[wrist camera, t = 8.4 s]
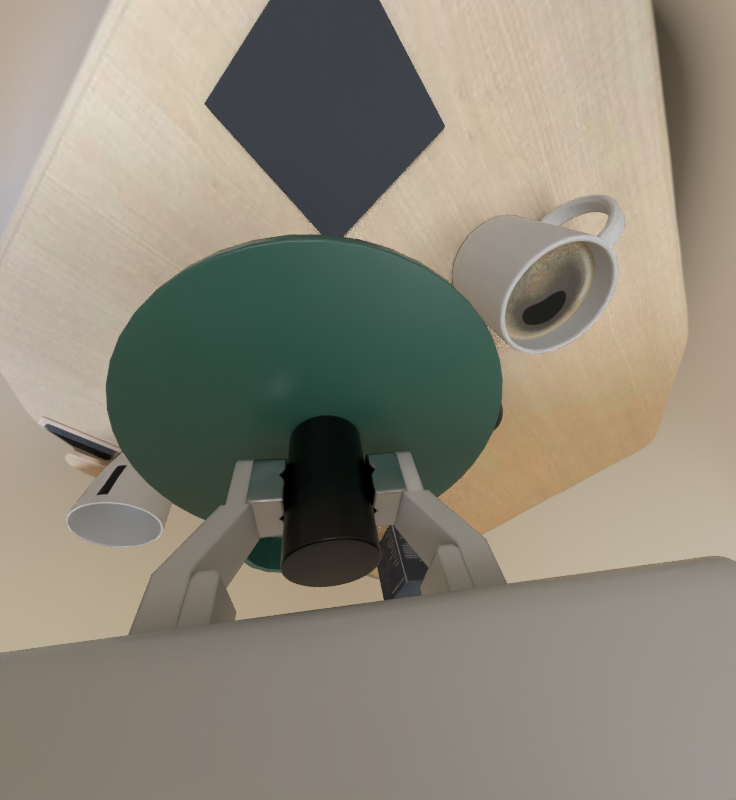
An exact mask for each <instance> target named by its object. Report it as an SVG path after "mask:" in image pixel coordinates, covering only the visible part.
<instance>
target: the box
mask: <svg viewBox="0 0 736 800" xmlns="http://www.w3.org/2000/svg"><path fill="white" fill-rule="evenodd" d="M380 548H381V554H382V555H381V560H380V563H379V564H378V566H377V567H378V573H379V578H380V583H381V588H382V592H383V598H384V600H391V599H399V598H406V597H413V596H421V595H422V593H421V589H420V586H421V584H422V582H423V580H424V577H425V575H426V573H427V570H428V568H429V567H428V566H427V565H426V564H425V563H424V561H423V560H422V559H421V558H420V557H419V555H418V554H417V553H416V552H415V551H414V549H413V548H412V547H411V546H410V545H409V543H408V542H407V541H406V540H405V539H404V537H403V536H402V535H401V534H400V532H399V531H398V530H397V529H396V528H395V525H391V526H389V528H388V530H387V532H386V533H385V535H384V537H383V538H382V540H381V542H380Z"/></svg>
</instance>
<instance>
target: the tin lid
mask: <svg viewBox="0 0 736 800" xmlns="http://www.w3.org/2000/svg"><path fill="white" fill-rule="evenodd" d="M106 397H107V411H108V415H109V419H110V423H111V427H112V431H113V433H114V435H115V437H116V439H117V442H118V444H119V446H120V448H121V450H122V452H123V453H124V455H125V456H126V458H127V459H128V461H129V462H130V464H131V465H132V467H133V468H134V469H135V470H136V471H137V472H138V474H139V475H140V476H141V477H142V478H143V479H144V480H145V481H146V482H147V483H148V484H149V485H150V486H151V487H152V488H154V489H155V490H156V491H157V492H158V493H159V494H161V495H162V496H163V497H165V498H166V499H168V500H169V501H171V502H172V503H174V504H175V505H177V506H178V507H180V508H182V509H183V510H185V511H187V512H189V513H191V514H193V515H195V516H197V517H199V518H201V519H204V520H206V519H207V518H208V517H209V516H210V515H211V514H212V513H213V512H214V511H215V510H216V509H217V508H218V507H219V506H220V505H225V504H226V500H227V496H228V492H229V488H230V484H231V480H232V476H233V472H234V468H235V464H236V463H237V461H238V460H255V459H284V458H286V459H287V463H288V471H287V483H286V499H285V513H284V522H283V535H280V536H271V537H278V538H282V549H281V563H280V569H281V572H282V574H283V576H284V577H285V578H286V579H288V580H289V581H291V582H293V583H296V584H299V585H303V586H310V587H328V586H336V585H341V584H345V583H349V582H352V581H355V580H357V579H360V578H362V577H364V576H366V575H367V574H369V573H370V572H372V571H373V570H374V569H375V568H376V567H377V566H378V564H379V563H380V560H381V555H382V554H381V548H380V543H379V537H378V532H377V527H378V526H376V521H375V516H374V510H373V505H372V499H371V494H370V489H369V483H368V478H367V472H366V466H365V456H366V454H372V453H387V452H394V453H395V452H406V451H409V452H410V453H411V455H412V458H413V461H414V463H415V466H416V469H417V472H418V475H419V477H420V480H421V483H422V486H423V489H424V490H429V491H430V492H431V493H433V494H434V495H435V496H436V497H438V496H440V495H441V494H442V493H444V492H445V491H446V490H448V489H449V488H450V487H451V486H452V485H453V484H455V483H456V482H457V481H458V480H459V479H460V478H461V477H462V476H463V475H464V474H465V473H466V472H467V470H468V469H469V468H470V467H471V466H472V465H473V464H474V462H475V461H476V460H477V458H478V457H479V455H480V454H481V452H482V451H483V449H484V448H485V446H486V444H487V442H488V440H489V438H490V436H491V434H492V432H493V429H494V427H495V424H496V421H497V418H498V415H499V410H500V405H501V400H502V374H501V365H500V359H499V356H498V353H497V350H496V346H495V343H494V340H493V338H492V336H491V334H490V332H489V330H488V328H487V326H486V325H485V323H484V321H483V319H482V318H481V317H480V315H479V314H478V313H477V311H476V310H475V309H474V307H473V306H472V305H471V303H470V302H469V301H468V300H467V299H466V298H465V297H464V296H463V295H462V294H461V293H459V292H458V291H457V290H456V289H455V288H454V287H453V286H452V285H451V284H450V283H449V282H448V281H446V280H445V279H444V278H443V277H441V276H440V275H438V274H437V273H435V272H434V271H432V270H431V269H429V268H428V267H426V266H425V265H423V264H422V263H420V262H419V261H417V260H414V259H412V258H410V257H408V256H406V255H404V254H401V253H399V252H397V251H395V250H393V249H390V248H387V247H384V246H380V245H377V244H373V243H370V242H367V241H363V240H360V239H353V238H346V237H339V236H331V235H284V236H278V237H271V238H264V239H258V240H252V241H249V242H246V243H243V244H239V245H236V246H233V247H230V248H227V249H223V250H220V251H218V252H216V253H214V254H212V255H210V256H208V257H206V258H204V259H202V260H200V261H198V262H196V263H193V264H191V265H189V266H188V267H187V268H185V269H184V270H182V271H181V272H180V273H178V274H177V275H175V276H174V277H173V278H171V279H170V280H168V281H167V282H166V283H164V284H163V285H162V286H161V287H159V288H158V289H157V290H156V291H155V292H154V293H153V294H152V295H151V296H150V297H149V298H148V299H147V300H146V301H145V302H144V303H143V304H142V305H141V306H140V307H139V309H138V310H137V311H136V312H135V313H134V314H133V316H132V317H131V319H130V321H129V322H128V324H127V325H126V327H125V328H124V330H123V331H122V333H121V334H120V336H119V338H118V341H117V344H116V346H115V349H114V351H113V354H112V357H111V359H110V363H109V369H108V375H107V382H106Z"/></svg>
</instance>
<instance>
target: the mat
mask: <svg viewBox="0 0 736 800" xmlns="http://www.w3.org/2000/svg"><path fill="white" fill-rule="evenodd" d="M205 105H206V106H207V107H208V108H209V109H210V110H211V111H212V113H213V114H214V115H215V116H216V117H217V118H218V119H219V120H220V121H221V123H222V124H223V125H224V126H225V127H226V128H227V129H228V130H229V131H230V132H231V134H232V135H233V136H234V137H235V138H236V139H237V140H238V141H239V142H240V144H241V145H242V146H243V147H244V148H245V149H246V150H247V151H248V152H249V154H250V155H251V156H252V157H253V158H254V159H255V160H256V161H257V162H258V164H259V165H260V166H261V167H262V168H263V169H264V170H265V171H266V172H267V174H268V175H269V176H270V177H271V178H272V179H273V180H274V181H275V182H276V184H277V185H278V186H279V187H280V188H281V189H282V190H283V191H284V192H285V194H286V195H287V196H288V197H289V198H290V199H291V200H292V201H293V202H294V204H295V205H296V206H297V207H298V208H299V209H300V210H301V211H302V212H303V213H304V215H305V216H306V217H307V218H308V219H309V220H310V221H311V222H312V223H313V225H314V226H315V227H316V228H317V229H318V230H319V231H320V232H321V233H322V235H331V236H339V237H343V236H344V235H345V234H346V232H347V231H348V230H349V229H350V228H351V227H352V226H353V225H354V224H355V223H356V222H357V221H358V220H359V219H360V217H361V216H362V215H363V214H364V213H365V212H366V211H367V210H368V209H369V208H370V207H371V206H372V205H373V204H374V202H375V201H376V200H377V199H378V198H379V197H380V196H381V195H382V194H383V193H384V192H385V191H386V190H387V188H388V187H389V186H390V185H391V184H392V183H393V182H394V181H395V180H396V179H397V178H398V177H399V176H400V175H401V173H402V172H403V171H404V170H405V169H406V168H407V167H408V166H409V165H410V164H411V163H412V162H413V161H414V160H415V158H416V157H417V156H418V155H419V154H420V153H421V152H422V151H423V150H424V149H425V148H426V147H427V146H428V145H429V143H430V142H431V141H432V140H433V139H434V138H435V137H436V136H437V135H438V134H439V133H440V132H441V131H442V129H443V128H444V127H445V125H444V123H443V121H442V120H441V118H440V116H439V114H438V112H437V110H436V108H435V106H434V104H433V102H432V100H431V98H430V97H429V95H428V93H427V91H426V89H425V87H424V85H423V83H422V81H421V79H420V77H419V75H418V73H417V72H416V70H415V68H414V66H413V64H412V62H411V60H410V58H409V56H408V54H407V52H406V50H405V49H404V47H403V45H402V43H401V41H400V39H399V37H398V35H397V33H396V31H395V29H394V27H393V26H392V24H391V22H390V20H389V18H388V16H387V14H386V12H385V10H384V8H383V6H382V4H381V3H380V1H379V0H270V1H269V3H268V4H267V6H266V7H265V9H264V10H263V12H262V14H261V15H260V17H259V18H258V20H257V22H256V23H255V25H254V26H253V28H252V29H251V31H250V33H249V34H248V36H247V37H246V39H245V40H244V42H243V44H242V45H241V47H240V48H239V50H238V52H237V53H236V55H235V56H234V58H233V59H232V61H231V63H230V64H229V66H228V67H227V69H226V71H225V72H224V74H223V75H222V77H221V78H220V80H219V82H218V83H217V85H216V86H215V88H214V90H213V91H212V93H211V94H210V96H209V97H208V99H207V101H206V102H205Z"/></svg>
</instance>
